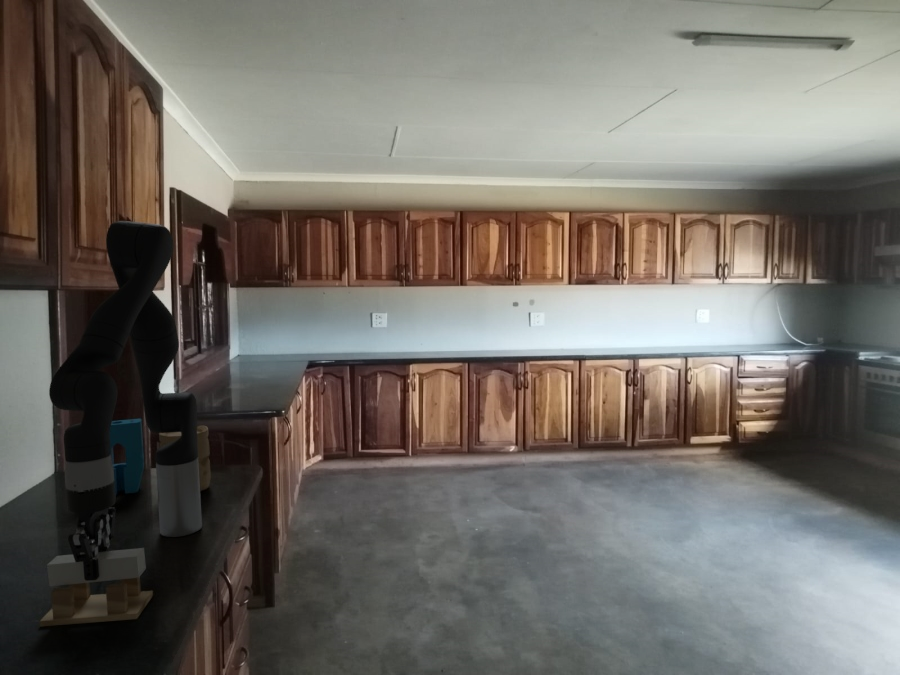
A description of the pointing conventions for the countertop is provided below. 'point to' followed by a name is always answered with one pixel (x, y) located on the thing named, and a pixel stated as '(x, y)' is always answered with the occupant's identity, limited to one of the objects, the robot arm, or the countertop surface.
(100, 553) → the clay bar
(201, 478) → the container
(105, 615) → the rack
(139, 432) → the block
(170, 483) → the robot arm
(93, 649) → the countertop surface
